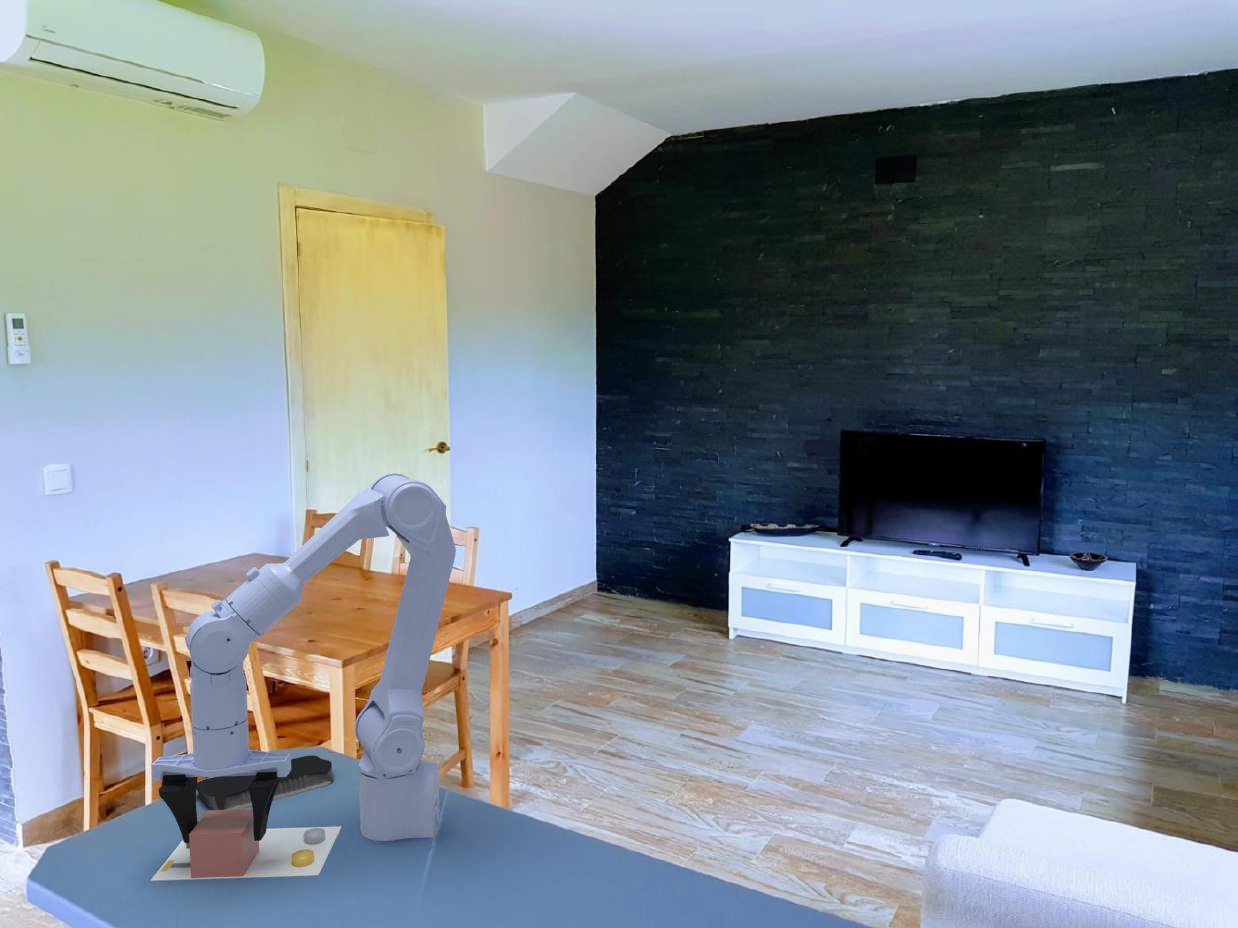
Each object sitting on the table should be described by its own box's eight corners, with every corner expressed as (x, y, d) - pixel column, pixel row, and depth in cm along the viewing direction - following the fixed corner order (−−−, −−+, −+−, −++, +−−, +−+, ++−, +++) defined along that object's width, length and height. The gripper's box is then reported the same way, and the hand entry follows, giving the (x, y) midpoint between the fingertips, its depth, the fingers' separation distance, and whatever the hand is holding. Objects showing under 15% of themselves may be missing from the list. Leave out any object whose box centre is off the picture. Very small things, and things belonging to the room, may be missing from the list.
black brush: (211, 828, 115) (210, 800, 115) (194, 803, 122) (193, 776, 122) (339, 793, 125) (338, 767, 125) (317, 772, 132) (317, 747, 132)
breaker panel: (341, 835, 113) (340, 801, 113) (318, 885, 102) (317, 847, 102) (190, 840, 112) (188, 805, 111) (150, 890, 101) (148, 852, 100)
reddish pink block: (259, 849, 107) (257, 808, 107) (243, 875, 102) (241, 832, 101) (209, 851, 107) (207, 810, 106) (191, 877, 101) (189, 834, 101)
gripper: (297, 705, 107) (301, 818, 108) (168, 709, 106) (173, 822, 107) (278, 729, 100) (283, 848, 101) (140, 732, 99) (147, 853, 100)
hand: (225, 837), depth 104 cm, fingers open, 7 cm apart
